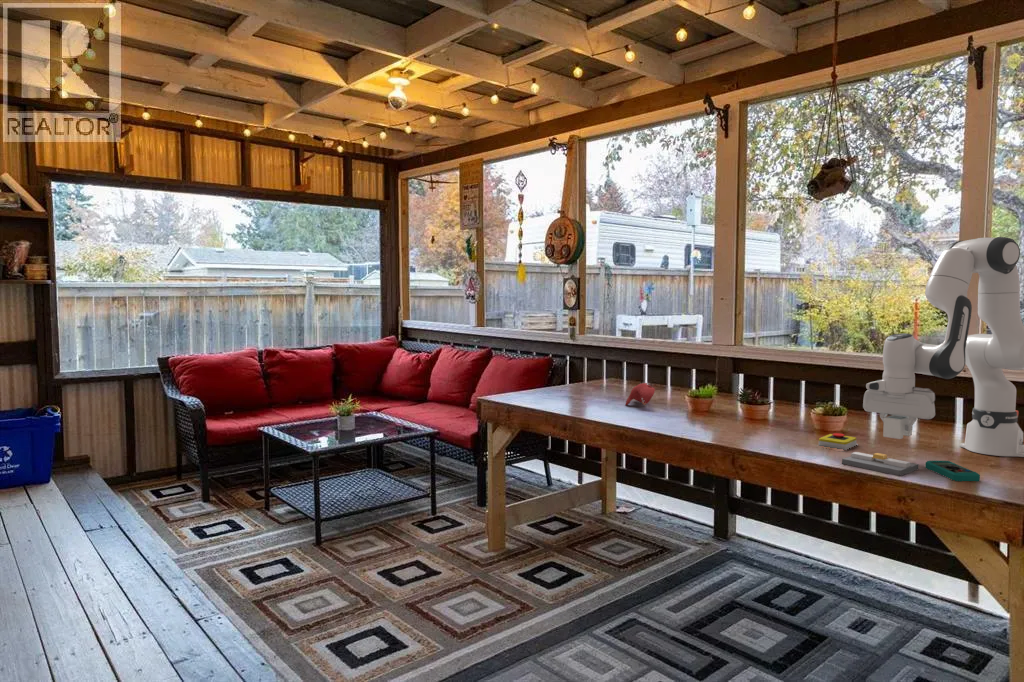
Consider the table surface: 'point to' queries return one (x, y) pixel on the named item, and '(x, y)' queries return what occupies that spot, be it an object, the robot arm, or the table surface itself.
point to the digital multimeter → (952, 471)
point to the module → (895, 426)
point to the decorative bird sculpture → (641, 393)
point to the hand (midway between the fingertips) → (897, 429)
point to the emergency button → (837, 441)
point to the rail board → (880, 464)
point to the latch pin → (880, 456)
